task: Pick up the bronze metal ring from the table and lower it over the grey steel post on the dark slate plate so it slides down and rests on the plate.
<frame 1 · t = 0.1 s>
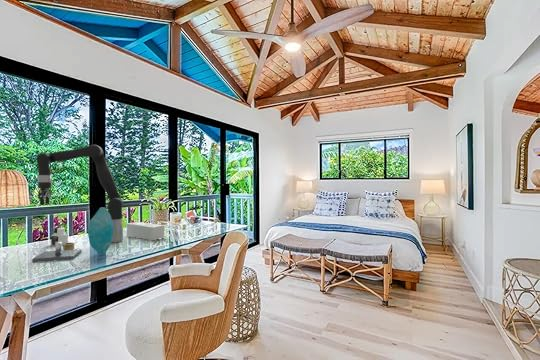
hand: (44, 204, 199), 29 cm above the table, tool pointing down, fingers open, 8 cm apart
light grey long block: (145, 237, 229), on the table
bronze ring: (68, 249, 189), on the table
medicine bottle: (59, 244, 203), on the table
crystal: (100, 254, 179), on the table
piston stand: (58, 256, 172), on the table
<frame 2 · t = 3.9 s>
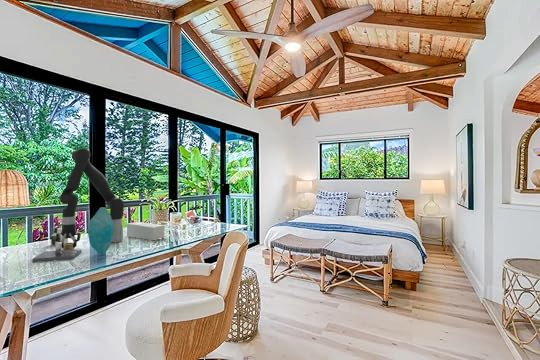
hand: (68, 247, 189), 1 cm above the table, tool pointing down, fingers closed on bronze ring, 6 cm apart
bronze ring: (68, 249, 189), on the table, touching gripper
everything else where it was.
when the fingers open (6 cm above the table, at t = 10.9 s): bronze ring drops 3 cm, resting on piston stand.
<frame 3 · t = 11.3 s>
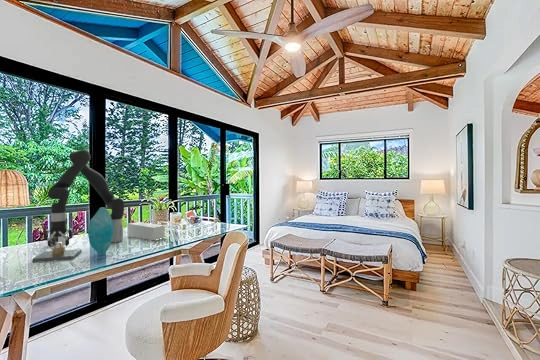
hand: (58, 246, 172), 7 cm above the table, tool pointing down, fingers open, 8 cm apart
bronze ring: (58, 253, 172), point 2 cm above the table, touching piston stand
everything else where it was.
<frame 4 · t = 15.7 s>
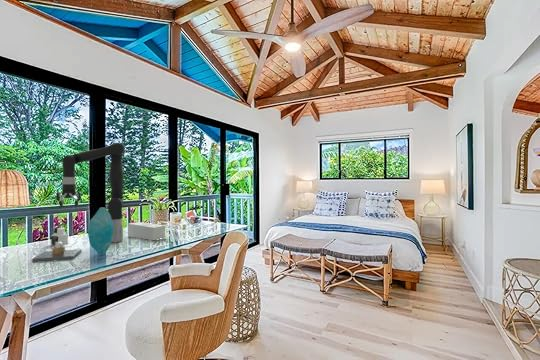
hand: (68, 206, 197), 28 cm above the table, tool pointing down, fingers open, 8 cm apart
at the end: bronze ring 0.1 cm off-centre on the piston stand, point 2.0 cm above the piston stand's base; bronze ring tilted 0°; the gripper is holding nothing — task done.
